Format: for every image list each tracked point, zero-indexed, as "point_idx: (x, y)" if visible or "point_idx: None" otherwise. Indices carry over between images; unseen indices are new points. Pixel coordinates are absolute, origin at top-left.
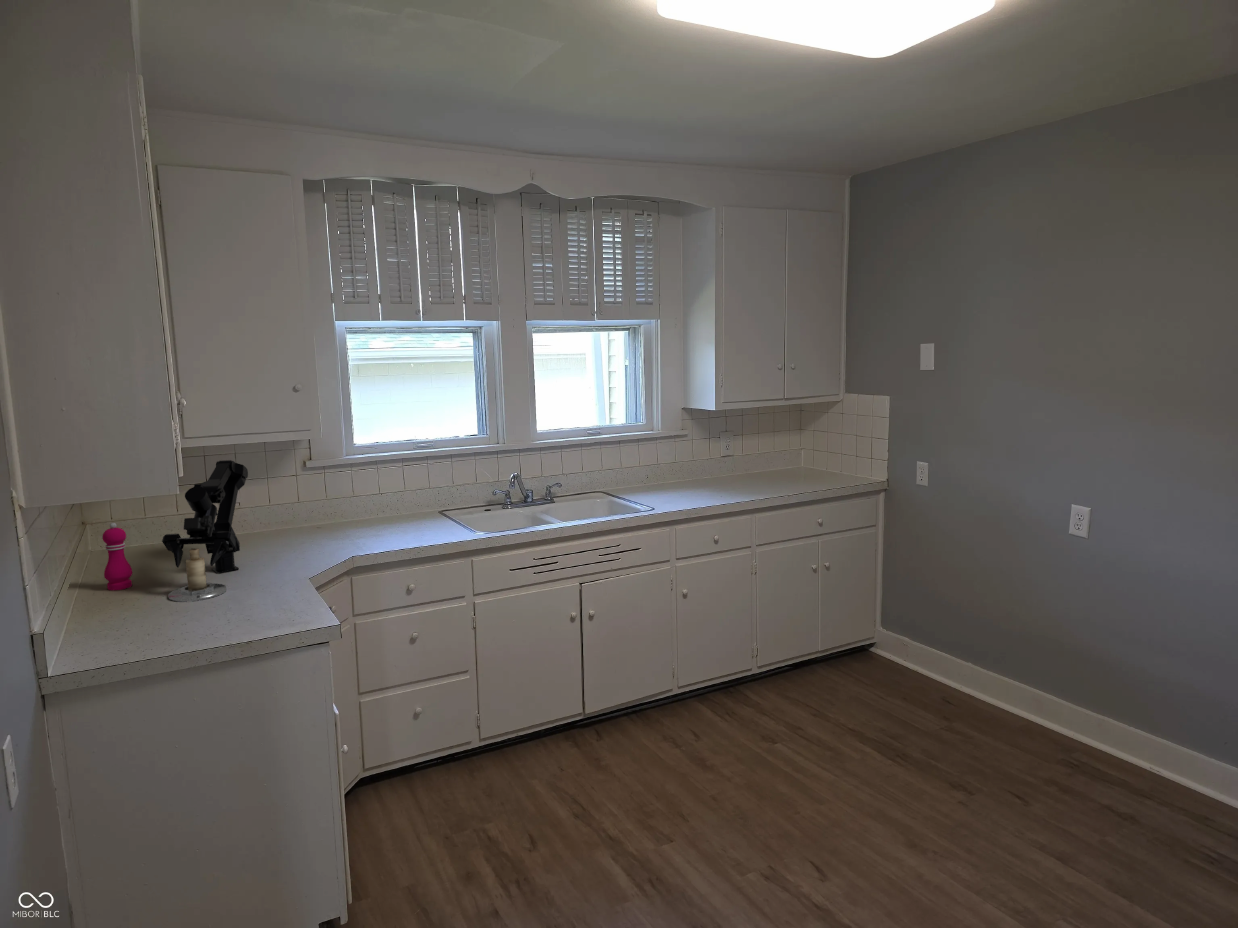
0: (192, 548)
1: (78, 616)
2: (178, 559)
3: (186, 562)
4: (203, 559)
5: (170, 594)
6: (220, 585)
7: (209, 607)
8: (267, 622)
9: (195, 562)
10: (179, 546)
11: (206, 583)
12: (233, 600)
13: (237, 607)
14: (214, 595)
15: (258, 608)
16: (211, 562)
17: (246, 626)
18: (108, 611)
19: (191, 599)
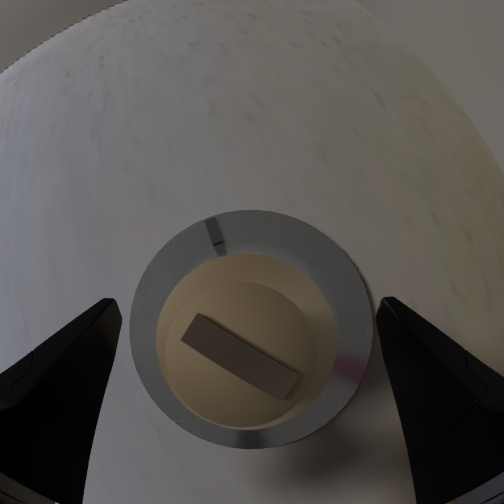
0: (279, 393)
1: (492, 157)
2: (408, 342)
3: (309, 283)
4: (156, 333)
5: (360, 296)
6: (170, 402)
7: (152, 140)
8: (46, 69)
9: (213, 261)
10: (479, 475)
11: None
12: (88, 204)
13: (78, 137)
14: (156, 258)
15: (40, 132)
16: (99, 304)
17: (77, 49)
18: (461, 173)
19: (237, 213)
